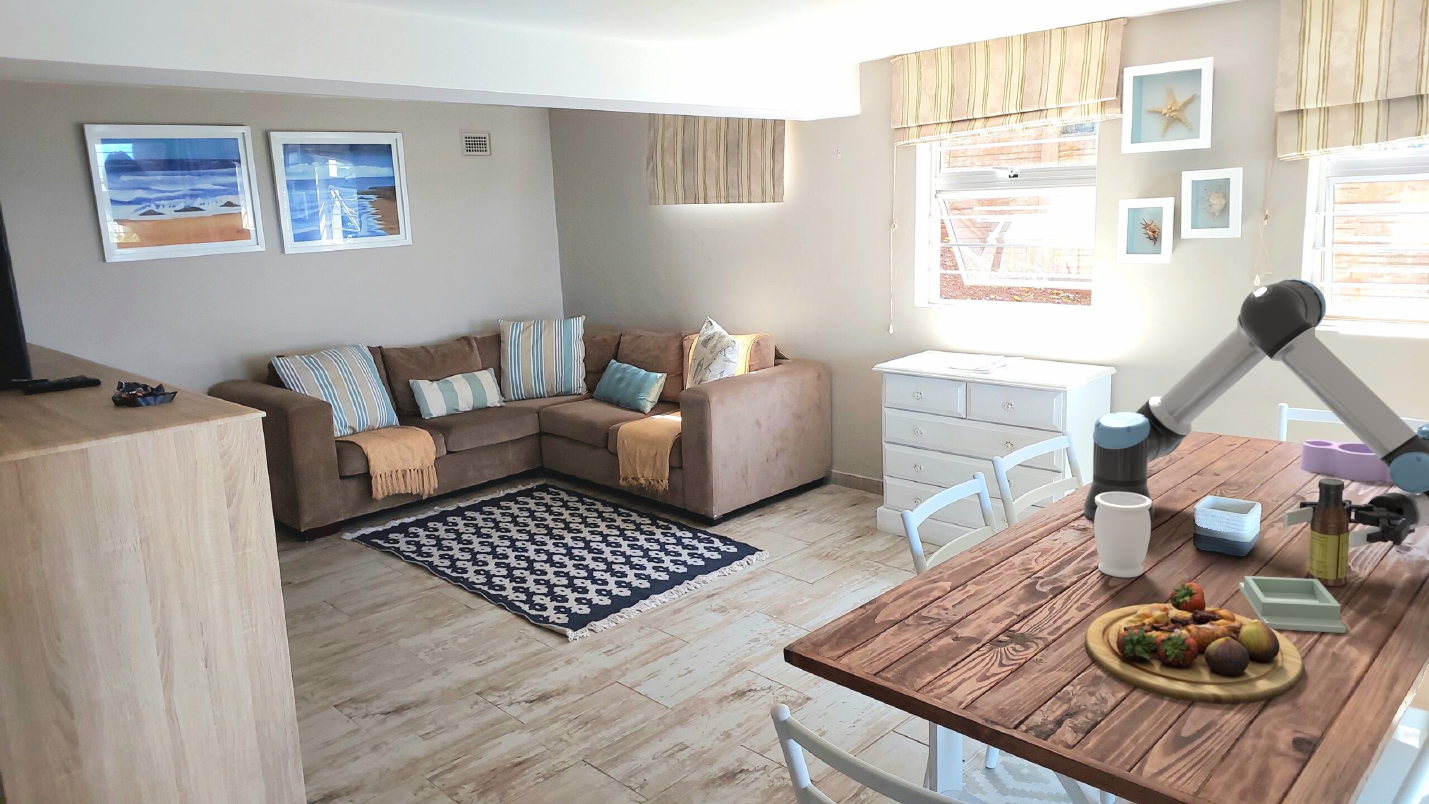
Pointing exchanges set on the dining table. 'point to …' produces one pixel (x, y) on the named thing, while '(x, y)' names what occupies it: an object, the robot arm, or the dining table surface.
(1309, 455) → the purple holder
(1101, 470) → the robot arm
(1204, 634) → the wooden plate with food
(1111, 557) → the jar
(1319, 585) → the stand
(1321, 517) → the sauce bottle
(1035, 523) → the dining table surface
